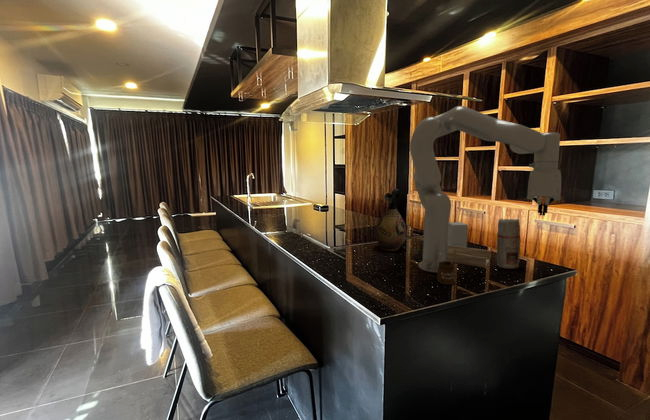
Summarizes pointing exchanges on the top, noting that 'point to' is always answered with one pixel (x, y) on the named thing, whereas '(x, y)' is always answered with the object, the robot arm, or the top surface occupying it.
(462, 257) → the u-rest
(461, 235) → the supplement box
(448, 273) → the utensil holder
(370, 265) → the top surface
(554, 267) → the top surface
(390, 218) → the ceramic jug
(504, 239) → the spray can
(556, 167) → the robot arm
